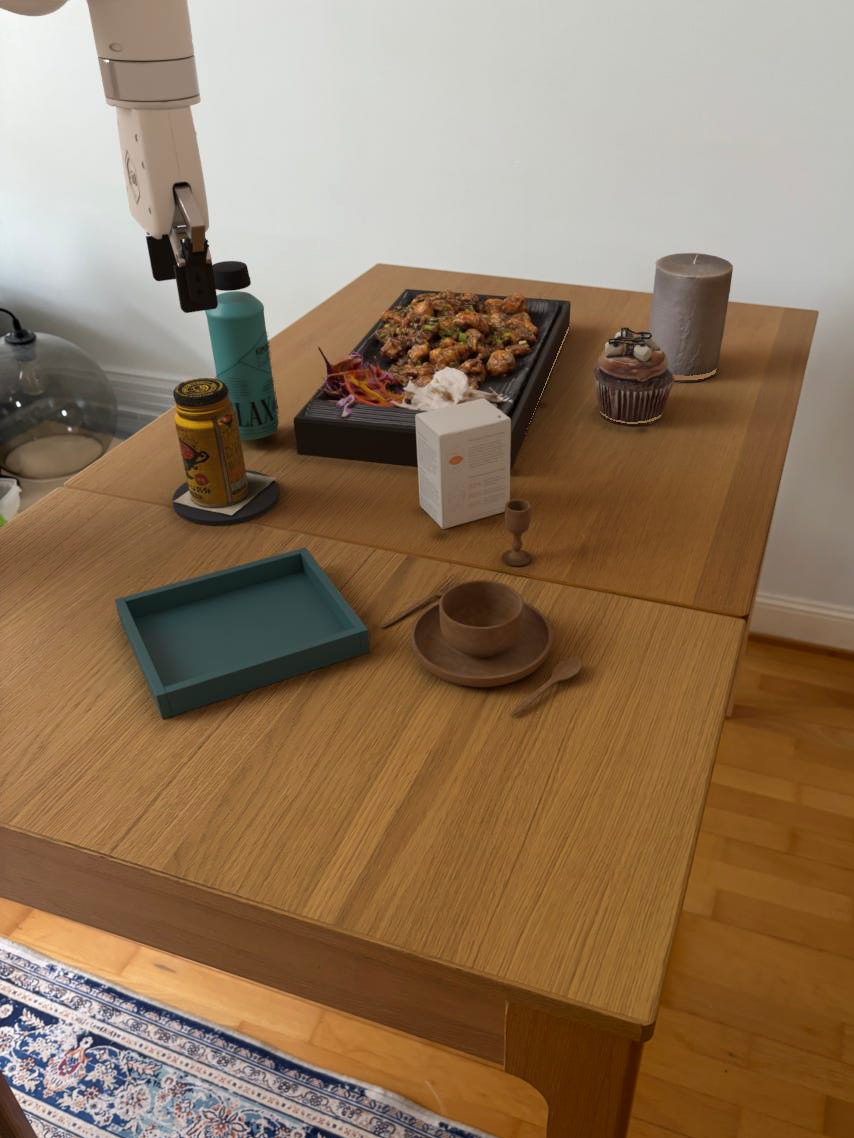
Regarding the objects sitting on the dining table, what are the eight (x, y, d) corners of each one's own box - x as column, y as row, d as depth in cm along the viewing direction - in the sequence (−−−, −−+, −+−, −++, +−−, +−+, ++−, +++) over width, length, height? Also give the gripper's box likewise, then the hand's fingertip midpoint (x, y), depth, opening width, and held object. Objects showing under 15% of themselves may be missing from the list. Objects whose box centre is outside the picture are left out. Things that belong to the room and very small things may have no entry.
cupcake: (664, 433, 116) (674, 351, 109) (583, 424, 118) (589, 342, 112) (674, 401, 123) (684, 322, 117) (598, 392, 125) (604, 314, 119)
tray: (162, 719, 76) (156, 696, 75) (120, 621, 86) (113, 599, 85) (370, 652, 83) (368, 629, 81) (308, 568, 93) (305, 546, 91)
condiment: (172, 503, 101) (149, 393, 94) (221, 467, 108) (202, 362, 100) (231, 517, 99) (212, 406, 92) (277, 480, 105) (262, 373, 98)
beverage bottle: (221, 453, 112) (189, 274, 99) (231, 427, 117) (202, 255, 105) (278, 452, 112) (254, 274, 100) (285, 426, 117) (263, 254, 105)
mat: (189, 535, 97) (188, 530, 97) (161, 488, 105) (160, 483, 105) (294, 509, 102) (293, 504, 101) (260, 465, 109) (259, 460, 109)
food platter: (508, 476, 107) (510, 387, 101) (297, 453, 111) (286, 367, 105) (569, 331, 142) (573, 258, 136) (406, 318, 146) (402, 247, 140)
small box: (485, 488, 105) (485, 396, 99) (510, 511, 101) (513, 417, 95) (417, 506, 102) (413, 412, 96) (441, 531, 98) (439, 434, 92)
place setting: (358, 636, 84) (352, 580, 81) (510, 545, 96) (512, 492, 92) (510, 731, 75) (512, 671, 71) (659, 617, 87) (667, 561, 83)
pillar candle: (715, 356, 134) (732, 243, 125) (719, 385, 127) (738, 267, 118) (644, 353, 136) (656, 240, 126) (643, 381, 128) (656, 263, 119)
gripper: (82, 69, 84) (122, 272, 95) (128, 101, 72) (168, 330, 83) (169, 65, 87) (198, 263, 97) (227, 95, 75) (254, 317, 86)
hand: (184, 293), depth 90 cm, fingers open, 9 cm apart
